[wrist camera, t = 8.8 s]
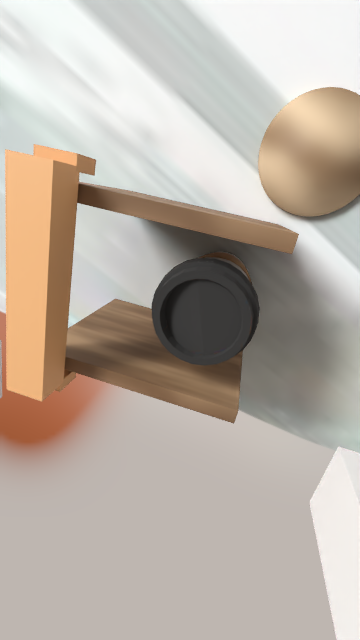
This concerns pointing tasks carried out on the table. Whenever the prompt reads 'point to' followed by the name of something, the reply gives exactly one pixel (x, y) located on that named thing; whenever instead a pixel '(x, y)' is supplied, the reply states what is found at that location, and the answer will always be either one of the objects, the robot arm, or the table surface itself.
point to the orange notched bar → (40, 265)
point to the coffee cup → (206, 309)
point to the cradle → (136, 321)
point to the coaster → (313, 153)
